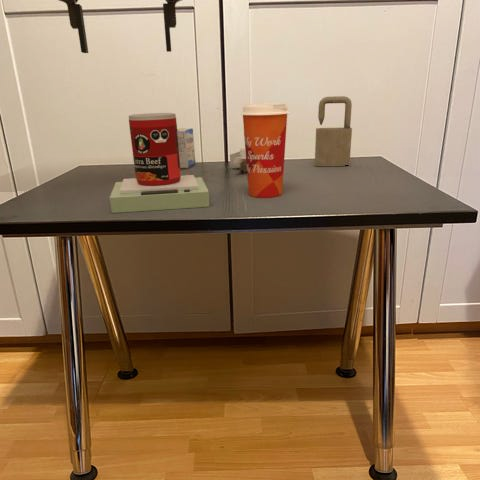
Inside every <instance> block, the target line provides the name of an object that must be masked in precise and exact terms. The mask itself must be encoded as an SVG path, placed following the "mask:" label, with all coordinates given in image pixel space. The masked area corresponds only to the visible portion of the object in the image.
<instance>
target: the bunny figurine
mask: <svg viewBox="0 0 480 480" xmlns="http://www.w3.org/2000/svg"><path fill="white" fill-rule="evenodd" d="M229 163H230V164H229V165H230V166H235V167H239V168H240V171H242V172H243V173H247V164H246V151H245V147H244V148H239V151H237V152H234V153H231V154H229Z"/></svg>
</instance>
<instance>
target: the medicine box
mask: <svg viewBox="0 0 480 480" xmlns="http://www.w3.org/2000/svg"><path fill="white" fill-rule="evenodd" d="M177 134H178V147H179V159H180V170H181V169H185V170H186V169H187V170H188V169H190V168H191V167H192V166H193V165H195V164H196V151H195V150H196V149H195V138H194V137H195V136H194V128H192V127H182V128H181V127H180V128H177Z"/></svg>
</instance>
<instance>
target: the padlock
mask: <svg viewBox="0 0 480 480" xmlns="http://www.w3.org/2000/svg"><path fill="white" fill-rule="evenodd" d="M329 104H345V105H344V120H343V127H316V128H315V147H314V167H345V165H351V164H350V163H351V149H352V135H353V128H352V127H351V124H352V123H351V121H352V107H353V106H352V104H353V103H352V100H351V99H350V98H349V97H348V96H345V95H337V96H324V97H323V98H321V100H319V102H318V112H317V115H318V116H317V118H318V122H319V125H320V126H322V125H323V123H324V121H325V118H326V117H325V115H326V114H325V113H326V112H325V111H326V105H329Z"/></svg>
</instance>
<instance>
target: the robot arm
mask: <svg viewBox="0 0 480 480" xmlns="http://www.w3.org/2000/svg"><path fill="white" fill-rule="evenodd" d="M58 2H62V3H65V4H66V6H67V13H68V18H69V24H70V27H71V29H72V30H77V34H78V39H79V45H80V52H81V53H83V54H89V47H88V39H87V33H86V26H85V25H86V24H85V20H84V19H85V18H84V13H83V6H82V5H81V4H80V3H78V2H79V0H58ZM179 2H182V0H165V3H163V2H162V10H163V22H164V23H163V24H164V35H165V36H164V37H165V48H166V49H165V50H166V52H167V53H170V52H172V42H171V41H172V40H171V29H175V28H176V27H177V13H176V4H178V3H179Z"/></svg>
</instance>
